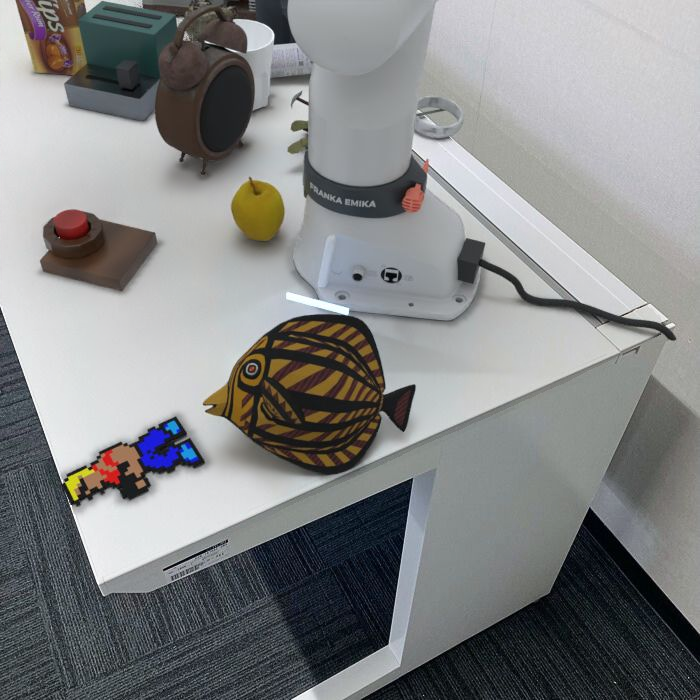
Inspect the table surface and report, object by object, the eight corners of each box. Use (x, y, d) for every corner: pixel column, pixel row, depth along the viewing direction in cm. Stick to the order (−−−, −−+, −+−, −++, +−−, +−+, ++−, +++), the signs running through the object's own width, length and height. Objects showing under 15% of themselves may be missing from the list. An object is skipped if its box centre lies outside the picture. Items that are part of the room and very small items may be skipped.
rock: (216, -15, 132) (167, -3, 126) (250, 2, 127) (200, 16, 122) (217, 18, 135) (170, 31, 130) (250, 35, 131) (203, 50, 126)
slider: (140, 81, 112) (137, 61, 109) (132, 89, 110) (128, 69, 108) (128, 78, 112) (124, 58, 110) (119, 87, 110) (115, 67, 108)
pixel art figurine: (176, 418, 75) (56, 474, 70) (176, 416, 75) (55, 472, 70) (204, 462, 72) (80, 524, 67) (204, 460, 72) (79, 522, 67)
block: (157, 243, 93) (153, 220, 91) (121, 291, 87) (116, 268, 85) (73, 223, 95) (67, 200, 92) (33, 269, 89) (25, 245, 86)
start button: (95, 225, 90) (92, 213, 89) (79, 243, 88) (75, 231, 86) (67, 218, 91) (64, 206, 89) (50, 236, 88) (47, 224, 87)
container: (322, 34, 120) (226, 43, 119) (326, 49, 117) (227, 59, 116) (324, 62, 123) (230, 71, 122) (327, 78, 120) (231, 87, 119)
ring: (403, 117, 111) (401, 129, 112) (456, 134, 110) (453, 145, 111) (419, 88, 116) (417, 99, 117) (470, 104, 114) (467, 115, 116)
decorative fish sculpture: (322, 523, 68) (246, 492, 76) (425, 404, 76) (346, 387, 84) (248, 406, 61) (173, 386, 69) (369, 288, 69) (289, 283, 77)
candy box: (98, 64, 122) (78, -37, 110) (90, 77, 119) (68, -25, 108) (42, 59, 122) (16, -42, 111) (33, 73, 119) (5, -30, 108)
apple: (240, 216, 97) (236, 162, 91) (290, 223, 97) (289, 169, 91) (227, 249, 93) (222, 194, 87) (279, 256, 93) (278, 202, 87)
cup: (278, 84, 120) (277, 21, 112) (272, 118, 113) (270, 53, 106) (213, 80, 120) (208, 17, 112) (204, 114, 113) (197, 49, 106)
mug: (244, 42, 128) (240, -27, 120) (295, 34, 131) (295, -34, 123) (270, 76, 121) (268, 4, 113) (323, 67, 124) (325, -4, 116)
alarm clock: (203, 191, 101) (187, 43, 86) (159, 173, 103) (136, 25, 88) (266, 140, 109) (261, -2, 95) (224, 124, 112) (213, -17, 97)
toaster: (183, 78, 120) (175, 13, 113) (143, 121, 111) (132, 54, 104) (113, 64, 122) (101, -1, 115) (68, 105, 113) (52, 38, 106)
